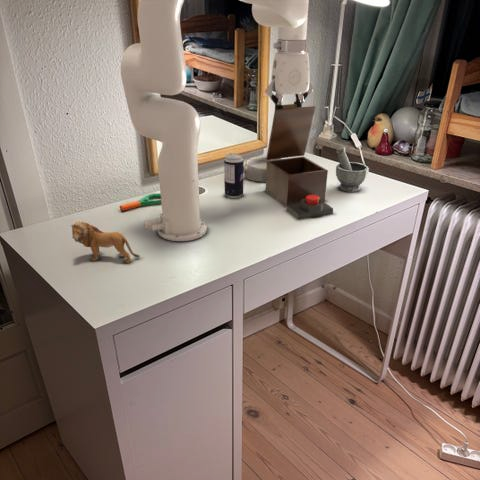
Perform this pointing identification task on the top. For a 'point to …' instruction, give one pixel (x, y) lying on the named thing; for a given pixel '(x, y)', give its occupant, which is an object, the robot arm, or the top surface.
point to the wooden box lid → (290, 131)
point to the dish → (256, 168)
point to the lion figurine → (100, 239)
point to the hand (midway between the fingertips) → (287, 117)
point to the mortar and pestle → (350, 172)
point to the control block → (309, 209)
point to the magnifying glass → (142, 202)
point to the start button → (312, 199)
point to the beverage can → (233, 175)
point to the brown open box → (295, 179)
